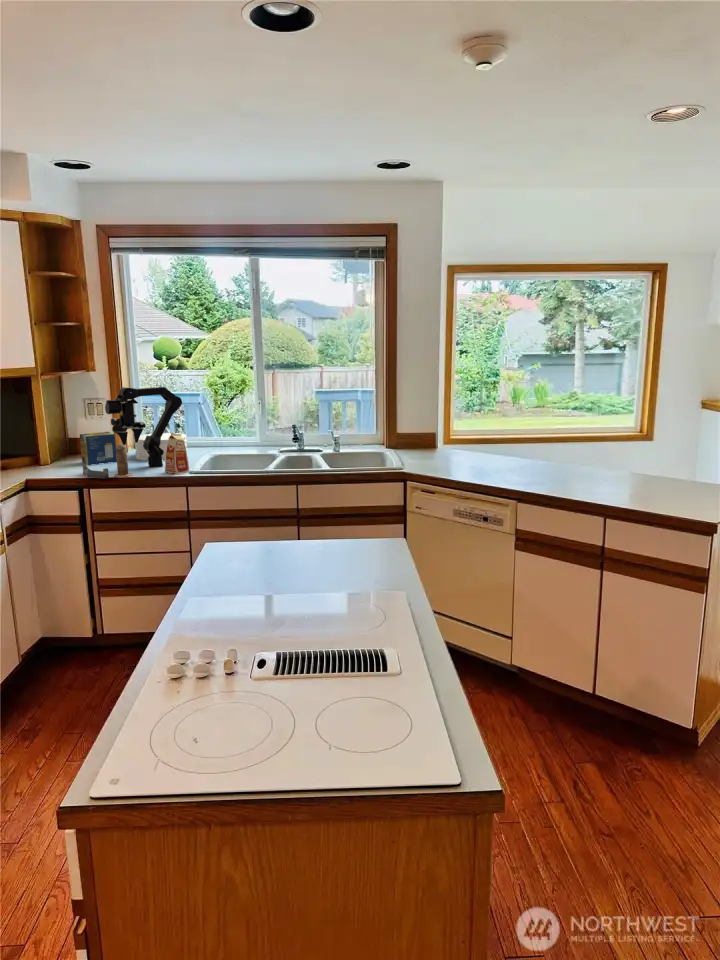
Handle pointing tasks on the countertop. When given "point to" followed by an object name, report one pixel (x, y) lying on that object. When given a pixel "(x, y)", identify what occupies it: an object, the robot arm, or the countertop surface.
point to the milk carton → (176, 455)
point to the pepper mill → (122, 460)
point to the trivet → (122, 475)
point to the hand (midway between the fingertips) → (130, 443)
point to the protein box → (98, 448)
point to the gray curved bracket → (95, 472)
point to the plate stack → (163, 445)
